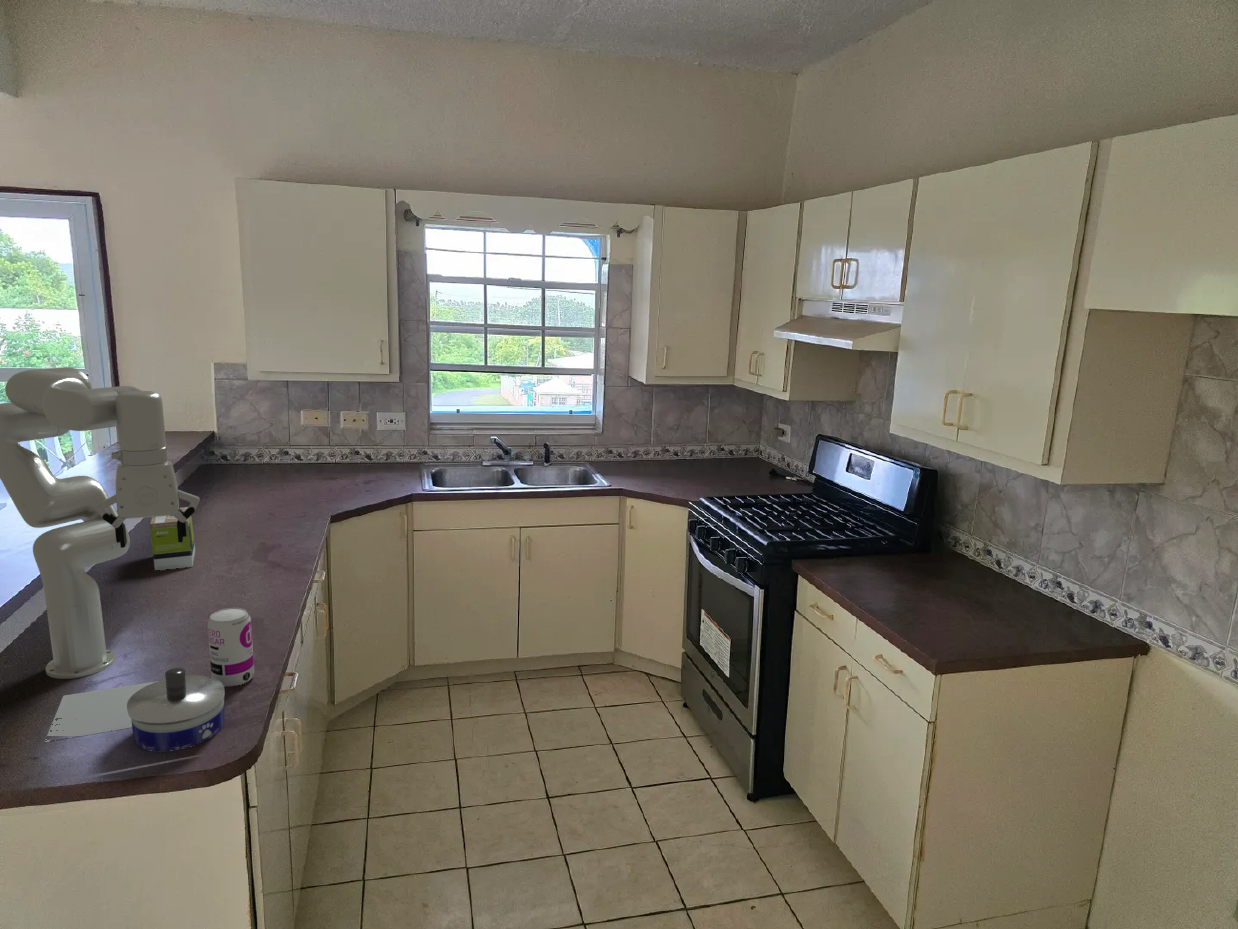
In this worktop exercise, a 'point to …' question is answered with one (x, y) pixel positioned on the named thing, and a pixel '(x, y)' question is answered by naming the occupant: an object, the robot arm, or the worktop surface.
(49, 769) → the worktop surface
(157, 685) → the lid
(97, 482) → the robot arm
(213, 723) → the dog bowl
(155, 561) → the tea box
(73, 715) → the mat
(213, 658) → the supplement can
